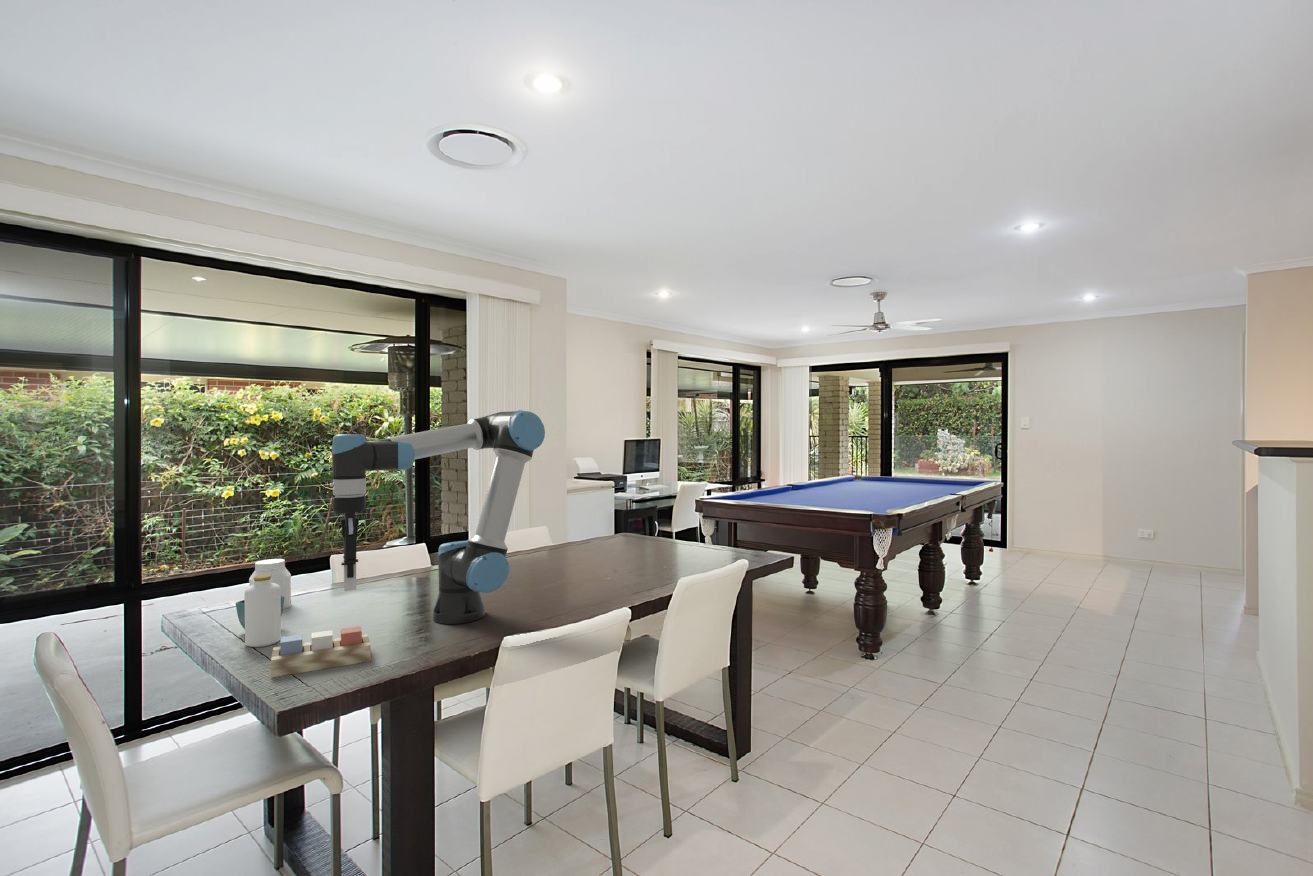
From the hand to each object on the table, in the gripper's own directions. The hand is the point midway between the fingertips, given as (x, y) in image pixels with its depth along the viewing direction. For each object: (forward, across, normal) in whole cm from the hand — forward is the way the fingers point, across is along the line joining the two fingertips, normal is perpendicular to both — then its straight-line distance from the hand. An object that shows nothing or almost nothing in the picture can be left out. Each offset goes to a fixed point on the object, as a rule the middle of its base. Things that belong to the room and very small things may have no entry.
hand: (350, 589), depth 158 cm
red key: (+15, 0, 0) cm, 15 cm away
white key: (+15, 0, -6) cm, 16 cm away
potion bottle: (+17, -24, -20) cm, 36 cm away
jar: (+17, -64, -20) cm, 69 cm away
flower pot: (+17, -38, -22) cm, 47 cm away
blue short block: (+15, 0, -13) cm, 20 cm away
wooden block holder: (+17, 0, -6) cm, 18 cm away
